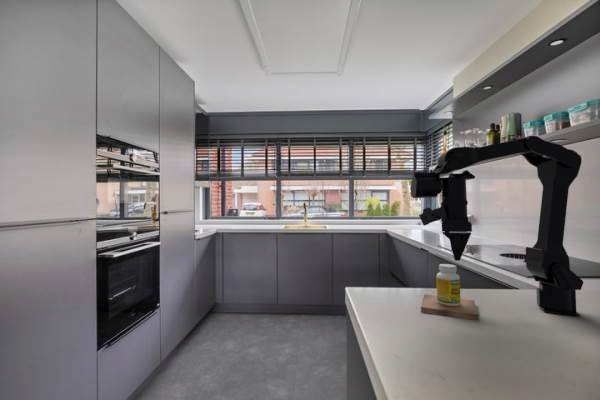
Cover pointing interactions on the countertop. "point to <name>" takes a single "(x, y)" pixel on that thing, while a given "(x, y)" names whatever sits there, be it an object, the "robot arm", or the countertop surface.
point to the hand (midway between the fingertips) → (456, 257)
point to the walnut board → (450, 308)
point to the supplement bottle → (448, 285)
